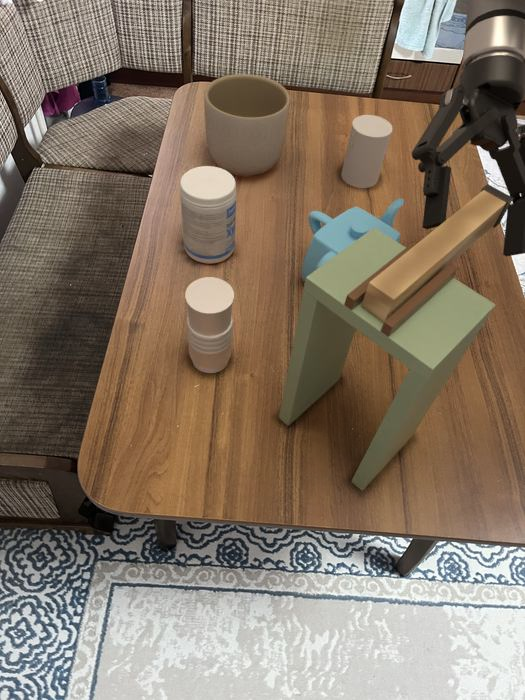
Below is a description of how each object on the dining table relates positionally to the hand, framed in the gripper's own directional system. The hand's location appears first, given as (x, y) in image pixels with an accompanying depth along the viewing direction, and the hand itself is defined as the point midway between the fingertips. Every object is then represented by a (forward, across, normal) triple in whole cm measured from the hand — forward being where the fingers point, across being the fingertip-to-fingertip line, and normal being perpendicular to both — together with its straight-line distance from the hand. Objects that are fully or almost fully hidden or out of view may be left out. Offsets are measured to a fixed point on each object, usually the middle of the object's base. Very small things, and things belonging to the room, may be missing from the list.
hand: (476, 242), depth 63 cm
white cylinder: (-28, -18, -50) cm, 60 cm away
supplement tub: (-4, +14, -50) cm, 52 cm away
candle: (+17, +17, -36) cm, 43 cm away
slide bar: (+4, +7, +1) cm, 8 cm away
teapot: (-1, -8, -36) cm, 36 cm away
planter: (-28, +4, -62) cm, 68 cm away
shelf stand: (+25, 0, -21) cm, 32 cm away
